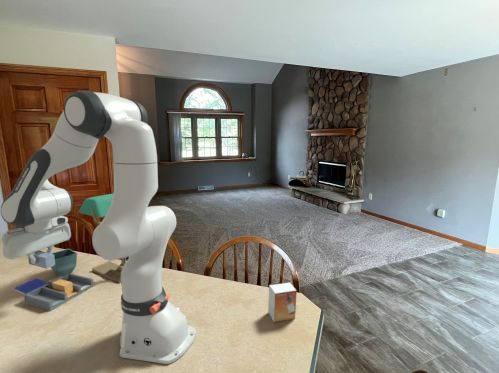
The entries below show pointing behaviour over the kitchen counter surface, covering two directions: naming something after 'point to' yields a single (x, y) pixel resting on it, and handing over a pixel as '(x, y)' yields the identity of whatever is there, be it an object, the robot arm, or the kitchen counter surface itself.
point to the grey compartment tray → (58, 292)
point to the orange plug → (61, 285)
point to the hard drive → (30, 286)
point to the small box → (282, 302)
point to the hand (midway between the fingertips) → (41, 260)
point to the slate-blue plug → (43, 259)
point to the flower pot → (64, 262)
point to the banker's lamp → (99, 209)
